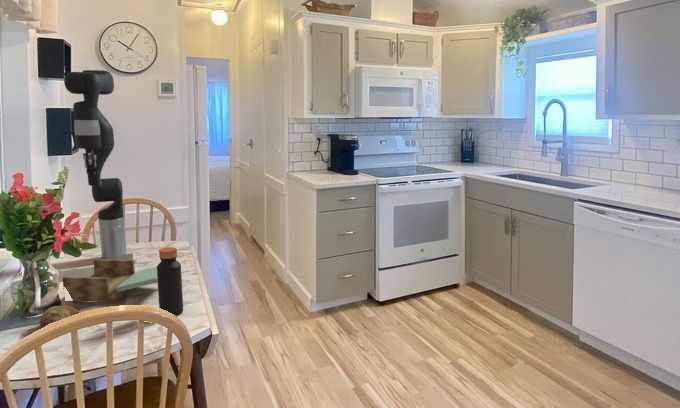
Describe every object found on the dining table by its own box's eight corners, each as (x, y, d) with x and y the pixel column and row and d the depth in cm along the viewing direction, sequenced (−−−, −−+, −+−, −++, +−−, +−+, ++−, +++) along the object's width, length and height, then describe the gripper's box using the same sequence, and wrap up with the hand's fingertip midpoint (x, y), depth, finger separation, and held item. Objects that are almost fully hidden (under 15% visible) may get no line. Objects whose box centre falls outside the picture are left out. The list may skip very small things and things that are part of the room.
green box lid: (115, 287, 150) (156, 277, 149) (137, 271, 165) (175, 262, 164) (118, 294, 150) (159, 285, 149) (140, 277, 166) (177, 268, 165)
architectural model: (117, 271, 180) (115, 252, 178) (136, 268, 183) (135, 250, 181) (117, 273, 177) (115, 255, 175) (137, 271, 180) (136, 252, 178)
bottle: (157, 311, 143) (153, 248, 139) (179, 306, 147) (176, 245, 143) (162, 319, 138) (158, 254, 134) (186, 314, 141) (182, 250, 138)
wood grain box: (64, 301, 149) (62, 277, 148) (96, 280, 168) (94, 259, 166) (114, 302, 149) (112, 278, 147) (140, 281, 168) (139, 260, 166)
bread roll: (44, 336, 134) (27, 316, 131) (78, 312, 140) (62, 292, 136) (53, 348, 127) (36, 327, 124) (89, 323, 133) (73, 302, 129)
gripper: (101, 134, 153) (105, 187, 156) (99, 132, 164) (103, 181, 167) (74, 134, 149) (79, 188, 152) (75, 133, 161) (79, 183, 164)
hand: (92, 184), depth 160 cm, fingers closed
